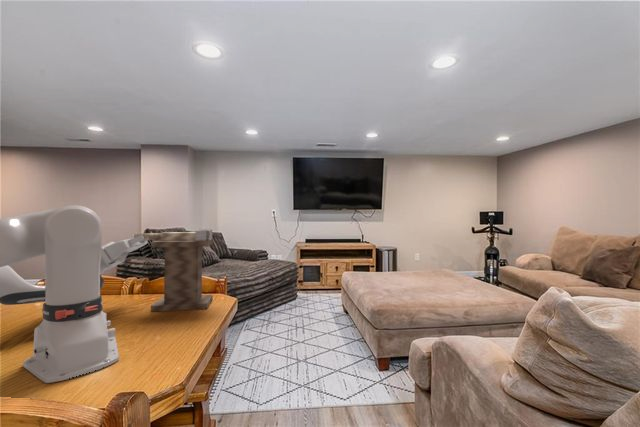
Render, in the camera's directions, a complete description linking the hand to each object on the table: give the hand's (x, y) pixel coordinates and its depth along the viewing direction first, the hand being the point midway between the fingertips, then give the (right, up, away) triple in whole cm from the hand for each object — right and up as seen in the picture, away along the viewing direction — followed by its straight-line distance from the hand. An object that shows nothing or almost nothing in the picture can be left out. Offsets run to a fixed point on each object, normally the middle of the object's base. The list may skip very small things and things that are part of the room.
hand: (148, 235), depth 115 cm
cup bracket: (+20, -2, +4) cm, 20 cm away
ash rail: (+8, -2, +2) cm, 9 cm away
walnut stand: (+13, -28, +3) cm, 31 cm away
